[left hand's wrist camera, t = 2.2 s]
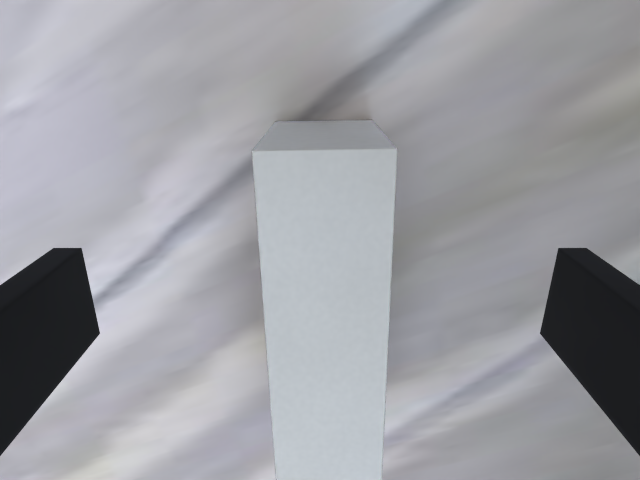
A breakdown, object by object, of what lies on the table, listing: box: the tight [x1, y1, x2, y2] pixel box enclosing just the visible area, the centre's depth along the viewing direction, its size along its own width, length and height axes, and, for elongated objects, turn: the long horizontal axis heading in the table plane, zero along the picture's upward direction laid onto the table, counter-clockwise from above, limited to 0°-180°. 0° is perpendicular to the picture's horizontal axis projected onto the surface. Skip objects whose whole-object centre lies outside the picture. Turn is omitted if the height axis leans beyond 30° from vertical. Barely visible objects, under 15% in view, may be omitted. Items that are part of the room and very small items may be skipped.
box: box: [252, 120, 398, 480], centre depth 28 cm, size 23×6×10 cm, turn 1°
